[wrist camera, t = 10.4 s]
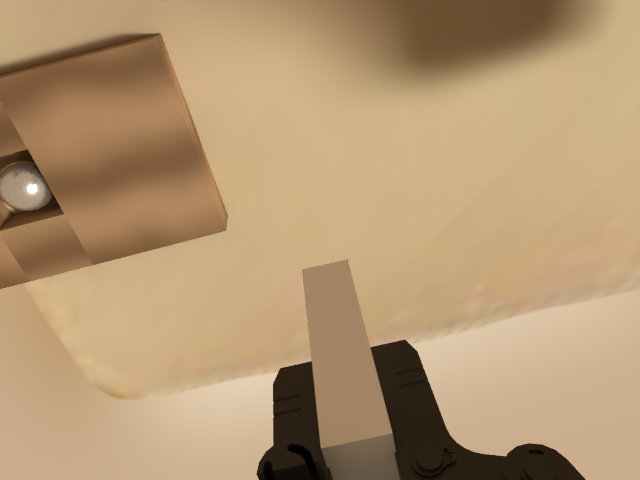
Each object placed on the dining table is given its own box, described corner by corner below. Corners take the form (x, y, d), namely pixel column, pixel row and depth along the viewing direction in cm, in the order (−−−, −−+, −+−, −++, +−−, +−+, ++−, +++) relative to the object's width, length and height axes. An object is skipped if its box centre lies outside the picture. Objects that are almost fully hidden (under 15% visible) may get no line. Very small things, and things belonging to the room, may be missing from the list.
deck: (-103, 101, 32) (-129, 111, 29) (160, 33, 31) (153, 38, 29) (12, 271, 39) (-2, 289, 36) (227, 216, 39) (226, 230, 36)
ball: (-24, 173, 32) (0, 175, 31) (23, 152, 35) (48, 152, 33) (3, 217, 34) (29, 222, 32) (47, 195, 37) (73, 197, 35)
